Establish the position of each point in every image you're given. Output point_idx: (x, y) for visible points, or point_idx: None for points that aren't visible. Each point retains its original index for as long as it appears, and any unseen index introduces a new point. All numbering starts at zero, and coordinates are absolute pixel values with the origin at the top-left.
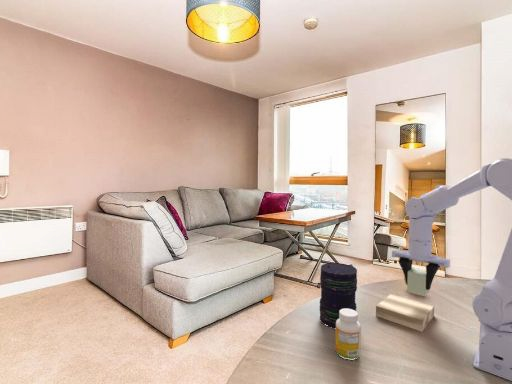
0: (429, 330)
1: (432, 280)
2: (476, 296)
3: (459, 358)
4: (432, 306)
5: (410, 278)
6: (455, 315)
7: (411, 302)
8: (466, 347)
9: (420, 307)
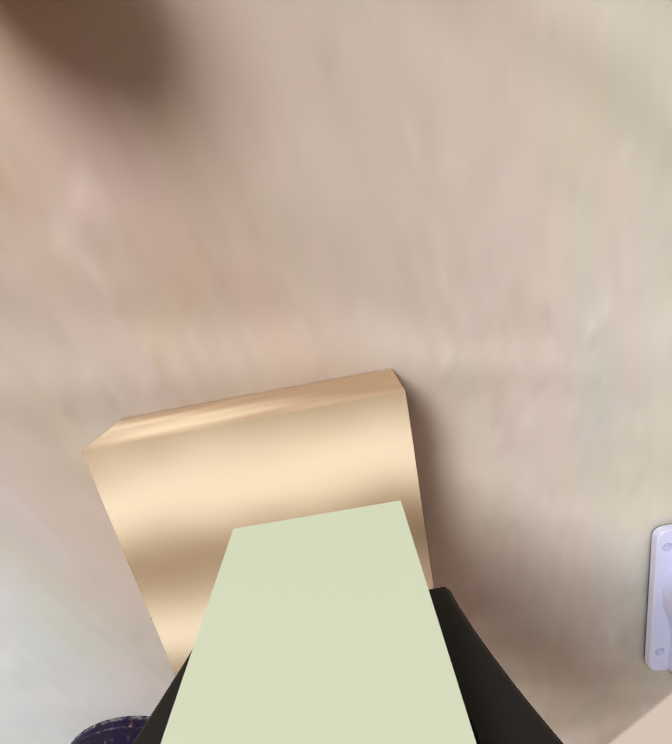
0: (441, 546)
1: (505, 675)
2: None
3: (595, 646)
4: (401, 413)
5: None
6: (483, 226)
7: (271, 471)
8: (604, 555)
9: (354, 499)
